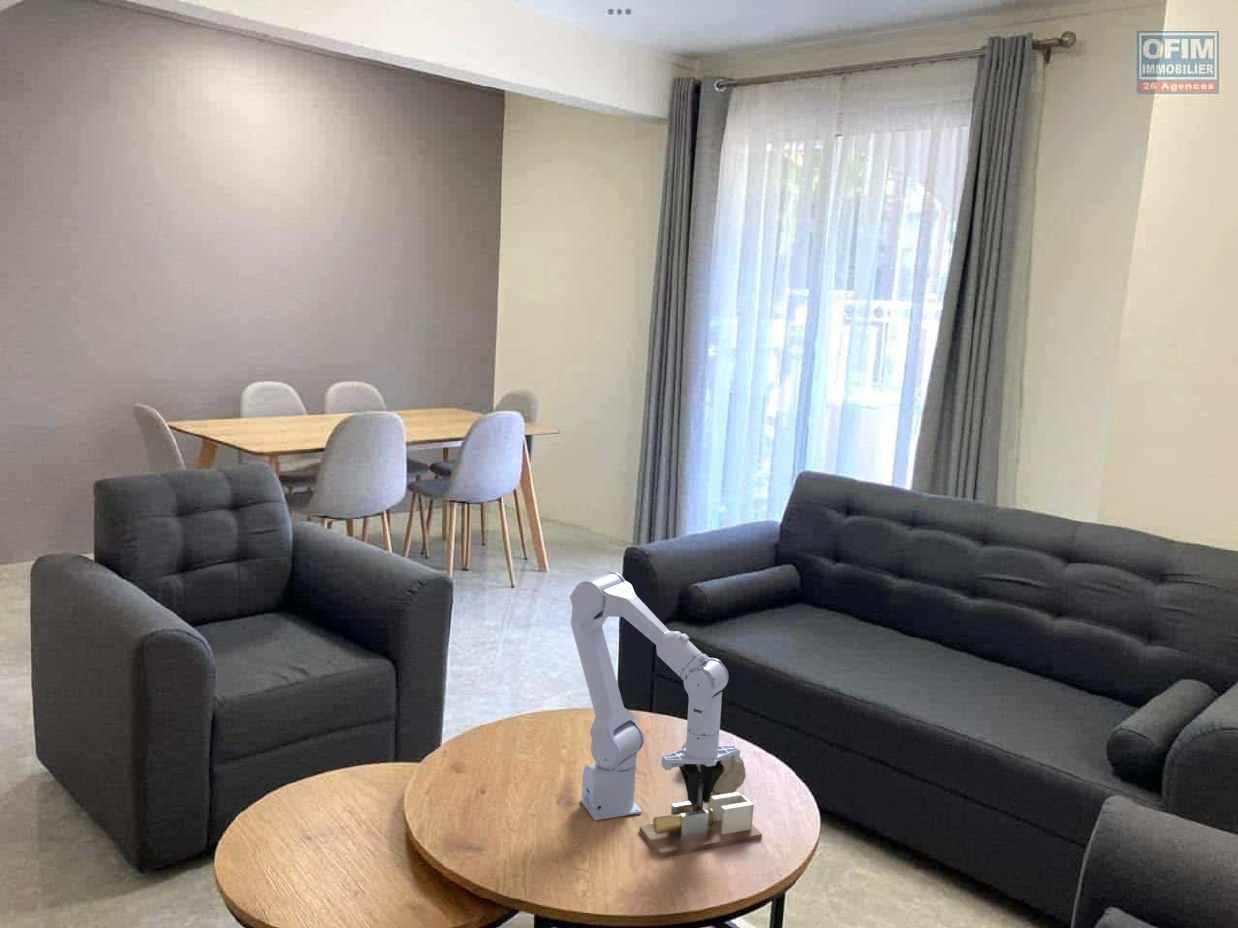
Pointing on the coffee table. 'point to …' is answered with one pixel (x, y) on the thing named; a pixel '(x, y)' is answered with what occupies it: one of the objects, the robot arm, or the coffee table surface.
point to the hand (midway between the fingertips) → (698, 800)
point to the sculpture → (728, 776)
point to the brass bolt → (674, 821)
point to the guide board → (694, 833)
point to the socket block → (733, 812)
